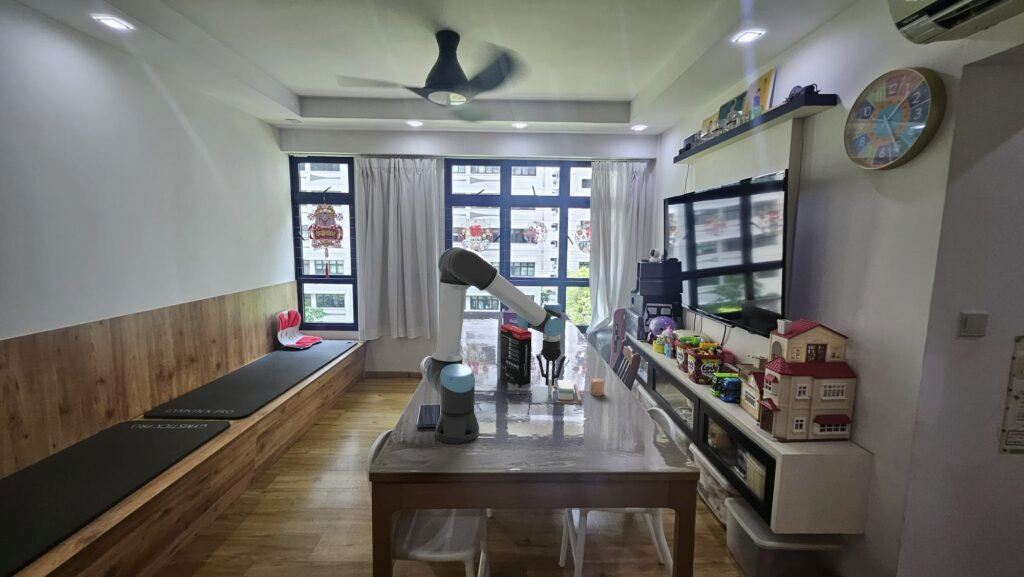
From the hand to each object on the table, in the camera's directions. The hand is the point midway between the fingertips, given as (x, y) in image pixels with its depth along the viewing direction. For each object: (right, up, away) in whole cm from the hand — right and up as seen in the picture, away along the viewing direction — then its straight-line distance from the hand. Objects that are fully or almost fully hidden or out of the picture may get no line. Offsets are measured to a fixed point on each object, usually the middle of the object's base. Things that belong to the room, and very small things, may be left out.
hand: (549, 392), depth 177 cm
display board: (+2, -2, 0) cm, 3 cm away
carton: (+7, -1, 0) cm, 7 cm away
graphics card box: (-15, 0, +15) cm, 21 cm away
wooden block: (+22, -2, +6) cm, 23 cm away
